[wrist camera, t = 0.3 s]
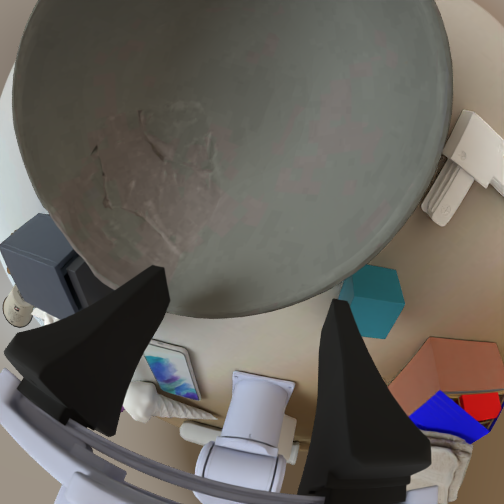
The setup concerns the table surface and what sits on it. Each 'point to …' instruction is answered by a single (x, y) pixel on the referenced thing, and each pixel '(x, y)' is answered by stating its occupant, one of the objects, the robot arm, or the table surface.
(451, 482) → the washcloth
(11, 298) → the coffee cup
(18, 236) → the compartment
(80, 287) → the drawer
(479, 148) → the corner connector
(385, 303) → the teal cube block
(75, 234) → the bowl
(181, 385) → the smartphone
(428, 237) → the table surface
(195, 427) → the tube
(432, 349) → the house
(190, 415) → the ice cream cone
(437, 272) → the table surface
